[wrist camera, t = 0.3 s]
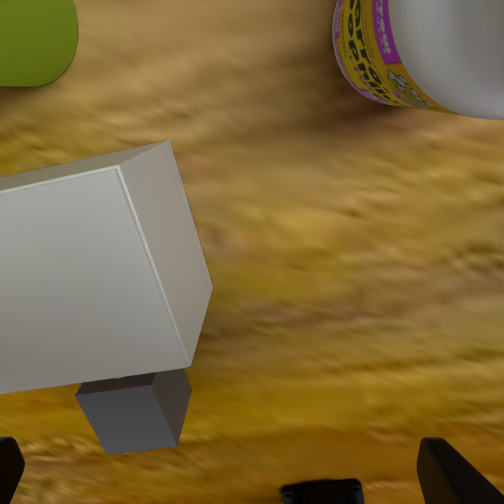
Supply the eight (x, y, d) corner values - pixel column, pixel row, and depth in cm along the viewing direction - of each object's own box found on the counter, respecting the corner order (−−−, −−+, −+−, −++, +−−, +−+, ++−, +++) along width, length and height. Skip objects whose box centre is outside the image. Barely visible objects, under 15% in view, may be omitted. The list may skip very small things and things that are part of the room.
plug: (191, 389, 26) (177, 446, 22) (132, 397, 27) (107, 454, 22) (165, 318, 24) (143, 368, 19) (100, 329, 24) (66, 379, 20)
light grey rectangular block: (213, 287, 22) (190, 369, 16) (38, 316, 24) (-50, 402, 17) (169, 139, 19) (116, 165, 12) (-33, 185, 20) (-177, 230, 14)
